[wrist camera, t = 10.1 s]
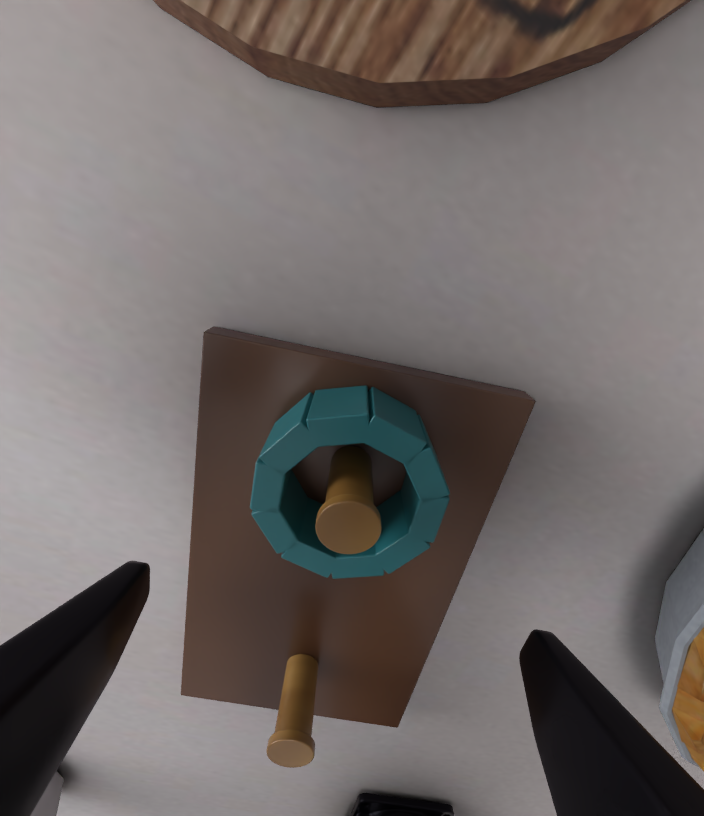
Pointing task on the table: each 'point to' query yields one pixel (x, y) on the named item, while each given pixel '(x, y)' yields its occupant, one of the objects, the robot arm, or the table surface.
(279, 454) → the ring
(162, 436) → the table surface
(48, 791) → the salt shaker
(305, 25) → the trivet
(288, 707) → the peg rack
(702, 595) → the pie
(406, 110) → the table surface
